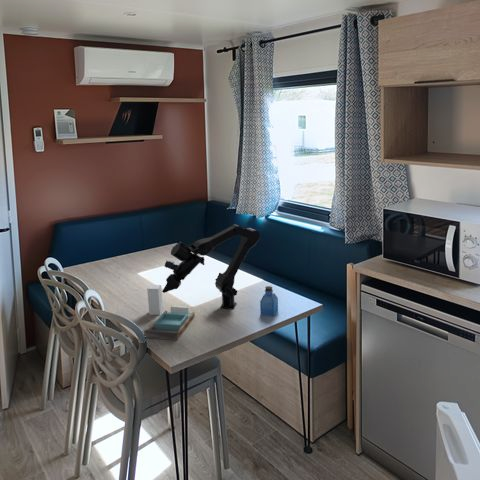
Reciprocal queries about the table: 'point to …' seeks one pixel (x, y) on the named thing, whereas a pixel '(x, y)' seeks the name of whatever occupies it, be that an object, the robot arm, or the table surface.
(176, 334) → the dock
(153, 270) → the table surface
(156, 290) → the light grey block
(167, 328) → the tray
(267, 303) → the perfume bottle
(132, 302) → the table surface
